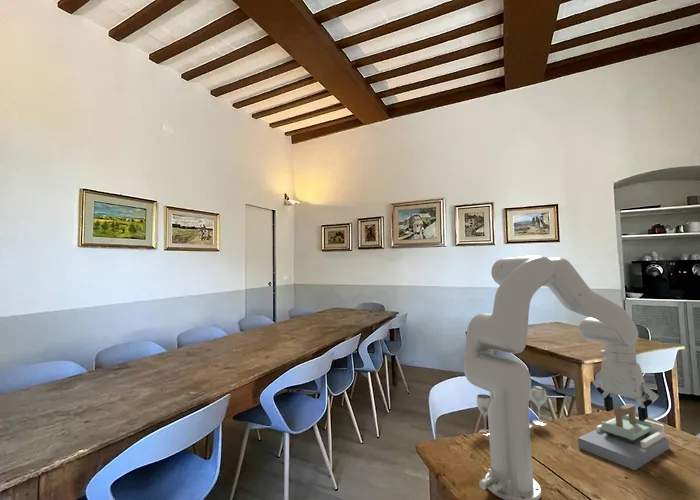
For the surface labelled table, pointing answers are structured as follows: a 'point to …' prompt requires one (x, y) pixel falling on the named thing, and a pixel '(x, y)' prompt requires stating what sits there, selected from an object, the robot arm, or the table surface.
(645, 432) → the mint green tray
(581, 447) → the dock
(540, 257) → the robot arm
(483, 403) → the goblet set
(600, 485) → the table surface
